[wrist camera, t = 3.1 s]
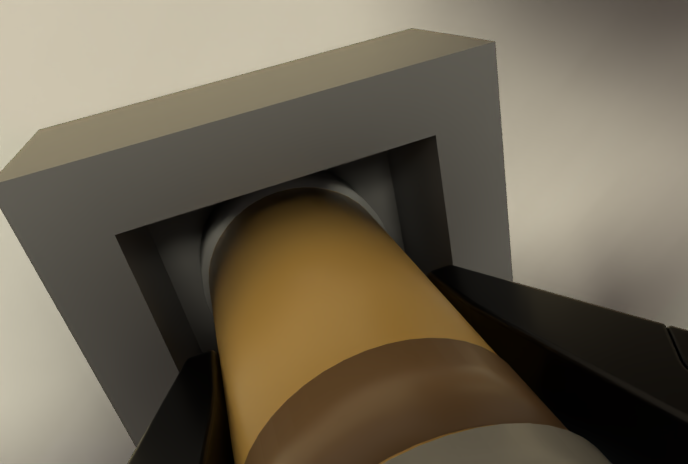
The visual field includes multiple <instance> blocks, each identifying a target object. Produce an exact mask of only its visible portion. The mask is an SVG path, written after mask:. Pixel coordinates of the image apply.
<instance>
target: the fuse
mask: <svg viewBox="0 0 688 464" xmlns="http://www.w3.org/2000/svg"><path fill="white" fill-rule="evenodd" d="M200 265H201V273H202V281H203V288H204V295H205V298H206V301H207V304H208V306H209V308H210V311H211V313H212V315H213V318H214V325H215V332H216V339H217V346H218V353H219V360H220V367H221V374H222V381H223V388H224V395H225V402H226V409H227V416H228V423H229V430H230V437H231V444H232V451H233V458H234V464H612V463H611V462H610V461H609V460H608V459H607V458H606V457H605V456H604V455H603V454H602V453H601V452H600V450H599V449H598V448H597V447H595V446H594V445H593V444H591V443H590V442H589V441H587V440H586V439H585V438H583V437H581V436H579V435H577V434H575V433H573V432H570V431H569V430H568V429H567V428H566V427H565V426H564V425H563V424H562V422H561V421H560V420H559V419H558V418H557V417H556V416H555V415H554V414H553V413H552V411H551V410H550V409H549V408H548V407H547V406H546V405H545V404H544V403H543V402H542V401H541V399H540V398H539V397H538V396H537V395H536V394H535V393H534V392H533V391H532V390H531V388H530V387H529V386H528V385H527V384H526V383H525V382H524V381H523V380H522V379H521V377H520V376H519V375H518V374H517V373H516V372H515V371H514V370H513V369H512V368H511V367H510V365H509V364H508V363H507V362H505V361H504V360H503V359H502V358H500V357H499V356H498V355H497V354H496V353H495V352H494V351H493V349H492V348H491V347H490V346H489V345H488V344H487V343H486V342H485V341H484V339H483V338H482V337H481V336H480V335H479V334H478V333H477V332H476V331H475V330H474V328H473V327H472V326H471V325H470V324H469V323H468V322H467V321H466V320H465V318H464V317H463V316H462V315H461V314H460V313H459V312H458V311H457V310H456V309H455V307H454V306H453V305H452V304H451V303H450V302H449V301H448V300H447V299H446V297H445V296H444V295H443V294H442V293H441V292H440V291H439V290H438V289H437V288H436V286H435V285H434V284H433V283H432V282H431V281H430V280H429V279H428V278H427V276H426V275H425V274H424V273H423V272H422V271H421V270H420V269H419V268H418V267H417V265H416V264H415V263H414V262H413V261H412V260H411V259H410V258H409V257H408V255H407V254H406V253H405V252H404V251H403V250H402V249H401V248H400V247H399V246H398V244H397V243H396V242H395V241H394V240H393V239H392V238H391V237H390V236H389V235H388V233H387V232H386V230H385V228H384V225H383V223H382V221H381V220H380V218H379V217H378V215H377V214H376V212H375V211H374V210H373V209H372V208H371V207H370V205H369V204H368V203H367V202H366V201H365V200H364V199H363V198H362V197H361V196H360V195H359V194H358V193H357V192H356V191H355V189H354V188H353V187H351V186H350V185H349V184H348V183H347V182H346V181H344V180H343V179H341V178H339V177H338V176H336V175H334V174H332V173H330V172H328V171H325V170H322V171H319V172H315V173H312V174H309V175H306V176H303V177H299V178H296V179H293V180H290V181H287V182H283V183H280V184H277V185H274V186H270V187H267V188H264V189H261V190H258V191H254V192H251V193H248V194H245V195H242V196H238V197H235V198H232V199H229V200H226V201H222V202H219V203H217V204H216V206H215V207H214V209H213V211H212V212H211V214H210V215H209V218H208V220H207V222H206V224H205V226H204V230H203V233H202V236H201V243H200Z"/></svg>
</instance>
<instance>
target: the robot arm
mask: <svg viewBox="0 0 688 464" xmlns="http://www.w3.org/2000/svg"><path fill="white" fill-rule="evenodd" d="M427 278H428V279H429V280H430V281H431V282H432V283H433V284H434V285H435V286H436V288H437V289H438V290H439V291H440V292H441V293H442V294H443V295H444V296H445V297H446V299H447V300H448V301H449V302H450V303H451V304H452V305H453V306H454V307H455V309H456V310H457V311H458V312H459V313H460V314H461V315H462V316H463V317H464V318H465V320H466V321H467V322H468V323H469V324H470V325H471V326H472V327H473V328H474V330H475V331H476V332H477V333H478V334H479V335H480V336H481V337H482V338H483V339H484V341H485V342H486V343H487V344H488V345H489V346H490V347H491V348H492V349H493V351H494V352H495V353H496V354H497V355H498V356H499V357H500V358H502V359H503V360H504V361H505V362H507V363H508V364H509V365H510V367H511V368H512V369H513V370H514V371H515V372H516V373H517V374H518V375H519V376H520V377H521V379H522V380H523V381H524V382H525V383H526V384H527V385H528V386H529V387H530V388H531V390H532V391H533V392H534V393H535V394H536V395H537V396H538V397H539V398H540V399H541V401H542V402H543V403H544V404H545V405H546V406H547V407H548V408H549V409H550V410H551V411H552V413H553V414H554V415H555V416H556V417H557V418H558V419H559V420H560V421H561V422H562V424H563V425H564V426H565V427H566V428H567V429H568V430H569V431H570V432H573V433H575V434H577V435H579V436H581V437H583V438H585V439H586V440H587V441H589V442H590V443H591V444H593V445H594V446H595V447H597V448H598V449H599V450H600V452H601V453H602V454H603V455H604V456H605V457H606V458H607V459H608V460H609V461H610V462H611V463H612V464H688V330H684V329H681V328H677V327H674V326H668V327H667V328H666V326H665V325H664V324H662V323H659V322H655V321H651V320H648V319H644V318H641V317H637V316H634V315H630V314H626V313H623V312H619V311H616V310H612V309H609V308H605V307H601V306H598V305H594V304H591V303H587V302H583V301H580V300H576V299H573V298H569V297H566V296H562V295H558V294H555V293H551V292H548V291H544V290H541V289H537V288H533V287H530V286H526V285H523V284H519V283H515V282H512V281H508V280H505V279H501V278H498V277H494V276H490V275H487V274H483V273H480V272H476V271H473V270H469V269H465V268H462V267H458V266H455V265H446V266H443V267H441V268H438V269H435V270H432V271H430V272H429V273H428V274H427ZM128 464H234V458H233V451H232V444H231V437H230V430H229V423H228V416H227V409H226V402H225V395H224V388H223V381H222V374H221V367H220V360H219V357H218V355H217V353H216V352H215V351H214V350H209V351H207V352H204V353H201V354H198V355H195V356H193V357H190V358H188V359H187V360H186V362H185V363H184V365H183V367H182V368H181V370H180V372H179V374H178V375H177V377H176V379H175V381H174V383H173V384H172V386H171V388H170V390H169V391H168V393H167V395H166V397H165V398H164V400H163V402H162V404H161V405H160V407H159V409H158V411H157V412H156V414H155V416H154V418H153V420H152V421H151V423H150V425H149V427H148V428H147V430H146V432H145V434H144V435H143V437H142V439H141V441H140V442H139V444H138V446H137V448H136V449H135V451H134V453H133V455H132V457H131V458H130V460H129V462H128Z"/></svg>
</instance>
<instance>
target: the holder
mask: <svg viewBox="0 0 688 464" xmlns="http://www.w3.org/2000/svg"><path fill="white" fill-rule="evenodd" d="M322 170H325V171H328V172H330V173H332V174H334V175H336V176H338V177H339V178H341V179H343V180H344V181H346V182H347V183H348V184H349V185H350V186H351V187H353V188H354V189H355V191H356V192H357V193H358V194H359V195H360V196H361V197H362V198H363V199H364V200H365V201H366V202H367V203H368V204H369V205H370V207H371V208H372V209H373V210H374V211H375V212H376V214H377V215H378V217H379V218H380V220H381V221H382V223H383V225H384V228H385V230H386V232H387V233H388V235H389V236H390V237H391V238H392V239H393V240H394V241H395V242H396V243H397V244H398V246H399V247H400V248H401V249H402V250H403V251H404V252H405V253H406V254H407V255H408V257H409V258H410V259H411V260H412V261H413V262H414V263H415V264H416V265H417V267H418V268H419V269H420V270H421V271H422V272H423V273H424V274H425V275H426V276H427V274H428V273H429V272H430V271H432V270H435V269H438V268H441V267H443V266H446V265H455V266H458V267H462V268H465V269H469V270H473V271H476V272H480V273H483V274H487V275H490V276H494V277H498V278H501V279H505V280H508V281H512V282H513V277H512V264H511V250H510V236H509V223H508V209H507V196H506V182H505V169H504V155H503V142H502V128H501V114H500V101H499V87H498V74H497V60H496V47H495V41H489V40H483V39H477V38H470V37H464V36H457V35H451V34H445V33H438V32H432V31H426V30H419V29H413V28H411V29H408V30H404V31H400V32H397V33H393V34H389V35H386V36H382V37H378V38H375V39H371V40H367V41H364V42H360V43H356V44H353V45H349V46H345V47H342V48H338V49H334V50H331V51H327V52H323V53H320V54H316V55H312V56H309V57H305V58H301V59H297V60H294V61H290V62H286V63H283V64H279V65H275V66H272V67H268V68H264V69H261V70H257V71H253V72H250V73H246V74H242V75H239V76H235V77H231V78H228V79H224V80H220V81H217V82H213V83H209V84H206V85H202V86H198V87H195V88H191V89H187V90H184V91H180V92H176V93H172V94H169V95H165V96H161V97H158V98H154V99H150V100H147V101H143V102H139V103H136V104H132V105H128V106H125V107H121V108H117V109H114V110H110V111H106V112H103V113H99V114H95V115H92V116H88V117H84V118H81V119H77V120H73V121H70V122H66V123H62V124H59V125H55V126H51V127H47V128H44V129H40V130H38V131H37V132H36V134H35V135H34V136H33V137H32V138H31V139H30V140H29V141H28V142H27V143H26V145H25V146H24V147H23V148H22V149H21V150H20V151H19V152H18V153H17V154H16V155H15V157H14V158H13V159H12V160H11V161H10V162H9V163H8V164H7V165H6V166H5V168H4V169H3V170H2V171H1V172H0V208H1V210H2V212H3V214H4V215H5V217H6V219H7V221H8V222H9V224H10V226H11V228H12V230H13V231H14V233H15V235H16V237H17V238H18V240H19V242H20V244H21V245H22V247H23V249H24V251H25V252H26V254H27V256H28V258H29V259H30V261H31V263H32V265H33V266H34V268H35V270H36V272H37V274H38V275H39V277H40V279H41V281H42V282H43V284H44V286H45V288H46V289H47V291H48V293H49V295H50V296H51V298H52V300H53V302H54V303H55V305H56V307H57V309H58V310H59V312H60V314H61V316H62V318H63V319H64V321H65V323H66V325H67V326H68V328H69V330H70V332H71V333H72V335H73V337H74V339H75V340H76V342H77V344H78V346H79V347H80V349H81V351H82V353H83V355H84V356H85V358H86V360H87V362H88V363H89V365H90V367H91V369H92V370H93V372H94V374H95V376H96V377H97V379H98V381H99V383H100V384H101V386H102V388H103V390H104V391H105V393H106V395H107V397H108V399H109V400H110V402H111V404H112V406H113V407H114V409H115V411H116V413H117V414H118V416H119V418H120V420H121V421H122V423H123V425H124V427H125V428H126V430H127V432H128V434H129V436H130V437H131V439H132V441H133V443H134V444H135V446H136V448H137V446H138V444H139V442H140V441H141V439H142V437H143V435H144V434H145V432H146V430H147V428H148V427H149V425H150V423H151V421H152V420H153V418H154V416H155V414H156V412H157V411H158V409H159V407H160V405H161V404H162V402H163V400H164V398H165V397H166V395H167V393H168V391H169V390H170V388H171V386H172V384H173V383H174V381H175V379H176V377H177V375H178V374H179V372H180V370H181V368H182V367H183V365H184V363H185V362H186V360H187V359H188V358H190V357H193V356H195V355H198V354H201V353H204V352H207V351H209V350H214V351H215V352H216V353H217V355H218V357H219V353H218V346H217V339H216V332H215V325H214V318H213V315H212V313H211V311H210V308H209V306H208V304H207V301H206V298H205V295H204V288H203V281H202V273H201V265H200V243H201V236H202V233H203V230H204V226H205V224H206V222H207V220H208V218H209V215H210V214H211V212H212V211H213V209H214V207H215V206H216V204H217V203H219V202H222V201H226V200H229V199H232V198H235V197H238V196H242V195H245V194H248V193H251V192H254V191H258V190H261V189H264V188H267V187H270V186H274V185H277V184H280V183H283V182H287V181H290V180H293V179H296V178H299V177H303V176H306V175H309V174H312V173H315V172H319V171H322Z"/></svg>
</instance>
